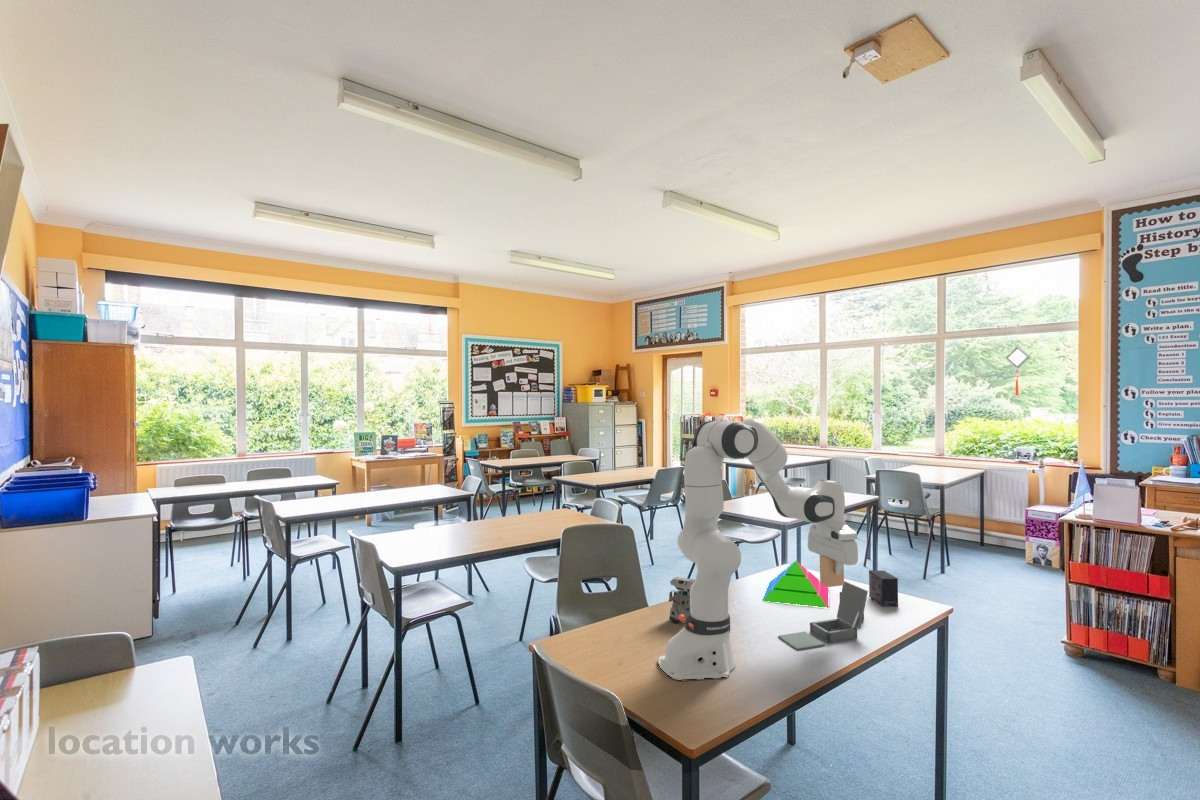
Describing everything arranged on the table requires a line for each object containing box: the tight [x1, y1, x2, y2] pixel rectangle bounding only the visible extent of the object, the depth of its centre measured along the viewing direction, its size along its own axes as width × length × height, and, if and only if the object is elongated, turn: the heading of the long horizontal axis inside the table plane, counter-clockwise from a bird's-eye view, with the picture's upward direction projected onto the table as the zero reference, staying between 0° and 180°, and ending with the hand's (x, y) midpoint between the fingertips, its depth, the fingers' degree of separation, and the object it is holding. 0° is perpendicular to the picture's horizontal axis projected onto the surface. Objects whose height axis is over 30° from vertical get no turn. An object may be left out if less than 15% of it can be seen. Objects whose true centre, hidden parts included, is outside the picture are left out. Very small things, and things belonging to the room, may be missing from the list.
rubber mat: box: [777, 631, 826, 651], centre depth 176 cm, size 10×10×1 cm
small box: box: [868, 569, 899, 607], centre depth 209 cm, size 11×6×10 cm, turn 179°
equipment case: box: [809, 580, 869, 643], centre depth 181 cm, size 15×10×15 cm, turn 106°
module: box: [819, 555, 845, 588], centre depth 181 cm, size 6×4×9 cm, turn 106°
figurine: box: [668, 576, 695, 624], centre depth 194 cm, size 9×12×15 cm
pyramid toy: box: [762, 560, 829, 608], centre depth 218 cm, size 25×25×14 cm
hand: (831, 571), depth 181 cm, fingers closed on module, 4 cm apart
